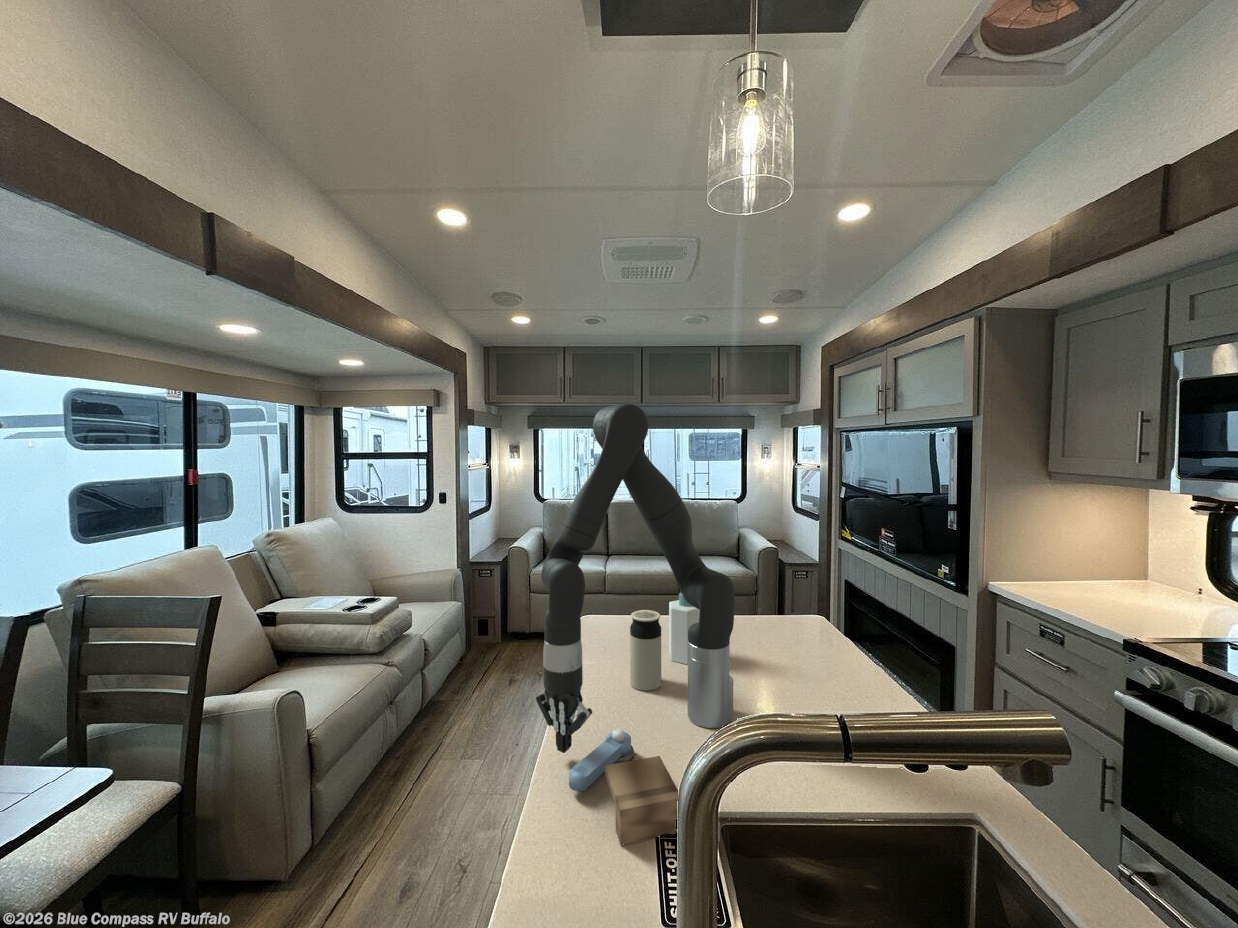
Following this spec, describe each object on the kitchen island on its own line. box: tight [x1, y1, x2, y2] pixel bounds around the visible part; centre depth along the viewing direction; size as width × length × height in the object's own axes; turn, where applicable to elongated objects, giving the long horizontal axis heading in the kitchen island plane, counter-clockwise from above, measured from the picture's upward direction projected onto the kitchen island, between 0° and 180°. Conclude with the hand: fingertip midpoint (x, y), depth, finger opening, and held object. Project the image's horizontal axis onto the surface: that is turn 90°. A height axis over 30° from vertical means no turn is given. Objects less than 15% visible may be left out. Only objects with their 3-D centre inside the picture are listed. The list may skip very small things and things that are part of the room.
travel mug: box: [629, 609, 662, 692], centre depth 121 cm, size 8×8×18 cm
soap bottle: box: [668, 592, 700, 666], centre depth 137 cm, size 10×9×22 cm
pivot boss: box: [613, 744, 635, 764], centre depth 93 cm, size 6×6×1 cm
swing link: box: [568, 728, 632, 792], centre depth 88 cm, size 16×5×3 cm, turn 145°
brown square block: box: [604, 755, 679, 846], centre depth 78 cm, size 10×10×6 cm
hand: (563, 749), depth 92 cm, fingers closed
